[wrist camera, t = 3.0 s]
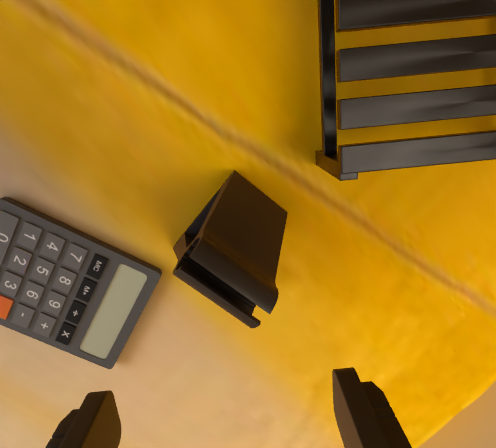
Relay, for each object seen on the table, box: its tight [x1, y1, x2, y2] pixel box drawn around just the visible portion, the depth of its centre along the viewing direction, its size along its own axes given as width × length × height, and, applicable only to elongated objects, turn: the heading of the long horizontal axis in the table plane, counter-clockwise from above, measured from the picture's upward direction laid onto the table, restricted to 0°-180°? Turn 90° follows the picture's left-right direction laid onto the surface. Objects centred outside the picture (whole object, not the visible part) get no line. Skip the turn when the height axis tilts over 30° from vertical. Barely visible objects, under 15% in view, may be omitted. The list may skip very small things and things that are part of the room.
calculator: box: [0, 197, 162, 369], centre depth 33 cm, size 12×1×15 cm
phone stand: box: [173, 170, 287, 328], centre depth 27 cm, size 9×6×12 cm, turn 141°
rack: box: [316, 0, 496, 181], centre depth 25 cm, size 16×14×8 cm
